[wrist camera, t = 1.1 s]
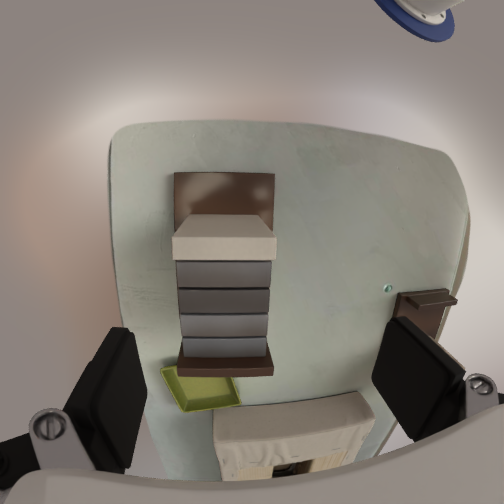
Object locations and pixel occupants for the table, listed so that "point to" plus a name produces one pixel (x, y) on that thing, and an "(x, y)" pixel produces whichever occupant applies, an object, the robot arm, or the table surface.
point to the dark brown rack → (425, 310)
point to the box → (290, 436)
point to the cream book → (223, 238)
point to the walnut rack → (224, 281)
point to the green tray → (200, 391)
